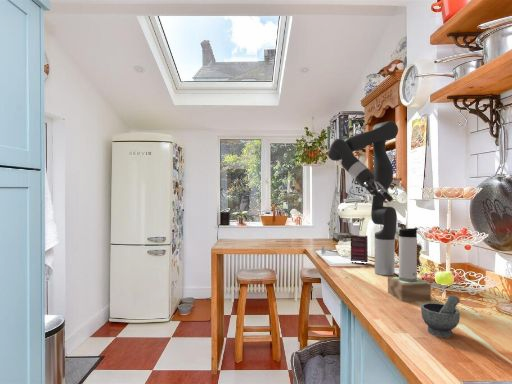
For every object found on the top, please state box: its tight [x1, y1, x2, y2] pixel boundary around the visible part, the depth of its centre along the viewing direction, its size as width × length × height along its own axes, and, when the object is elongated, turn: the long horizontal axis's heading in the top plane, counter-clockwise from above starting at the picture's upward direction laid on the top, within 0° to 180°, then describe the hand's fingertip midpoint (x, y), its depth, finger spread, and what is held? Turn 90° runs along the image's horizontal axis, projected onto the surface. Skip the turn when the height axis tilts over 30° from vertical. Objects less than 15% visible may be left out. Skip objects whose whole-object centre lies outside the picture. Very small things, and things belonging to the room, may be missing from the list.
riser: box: [387, 276, 432, 302], centre depth 127 cm, size 11×11×6 cm
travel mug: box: [398, 227, 419, 282], centre depth 127 cm, size 6×7×20 cm
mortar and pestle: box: [420, 294, 461, 338], centre depth 93 cm, size 11×9×12 cm
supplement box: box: [350, 234, 369, 262], centre depth 189 cm, size 9×5×16 cm, turn 58°
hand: (387, 200), depth 138 cm, fingers open, 8 cm apart
